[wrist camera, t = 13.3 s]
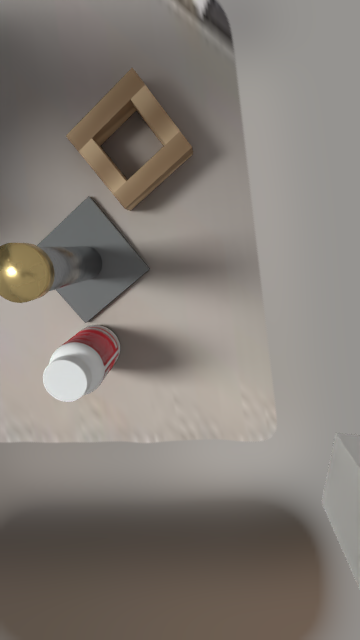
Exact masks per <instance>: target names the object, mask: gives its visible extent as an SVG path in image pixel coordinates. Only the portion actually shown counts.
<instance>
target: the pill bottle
mask: <svg viewBox="0 0 360 640" xmlns="http://www.w3.org/2000/svg"><path fill="white" fill-rule="evenodd" d="M119 355H120V343H119V340H118V338H117V336H116V335H115V334H114V333H113V332H112V331H111V330H110V329H108V328H106V327H104V326H99V325H93V326H88V327H86V328H84V329H83V330H81V331H80V332H79V333H77V334H76V335H75V336H73V337H72V338H71V339H69V340H68V341H67V342H66V343H64V344H63V345H62V346H60V347H59V348H58V349H57V350H56V351H55V352H54V353H53V355H52V357H51V359H50V363H49V365H48V366H47V367H46V369H45V371H44V374H43V383H44V386H45V388H46V390H47V391H48V393H49V394H50V395H51V396H53V397H54V398H56V399H58V400H60V401H64V402H72V401H75V400H78V399H79V398H81V397H82V396H83V395H86V394H89V393H91V392H93V391H94V390H95V389H97V388H98V386H99V385H100V384H101V383H102V381H103V380H104V378H105V377H106V375H107V374H108V372H109V371H110V370H111V368H112V367H113V365H114V364H115V363H116V361H117V359H118V357H119Z"/></svg>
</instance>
